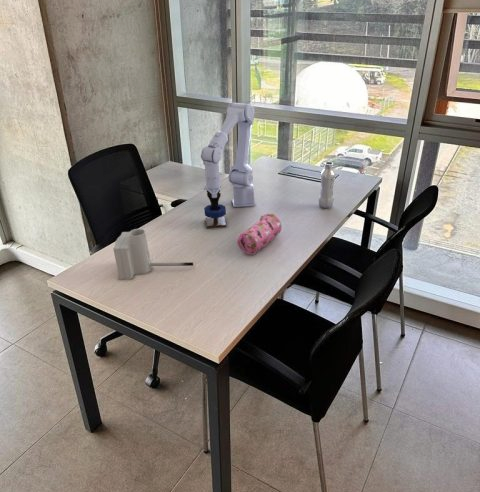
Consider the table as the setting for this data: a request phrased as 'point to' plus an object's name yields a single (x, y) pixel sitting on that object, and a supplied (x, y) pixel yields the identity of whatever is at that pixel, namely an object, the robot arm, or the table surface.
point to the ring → (215, 214)
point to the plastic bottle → (327, 186)
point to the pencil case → (259, 234)
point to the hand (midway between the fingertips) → (214, 207)
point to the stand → (215, 222)
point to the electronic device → (135, 255)
